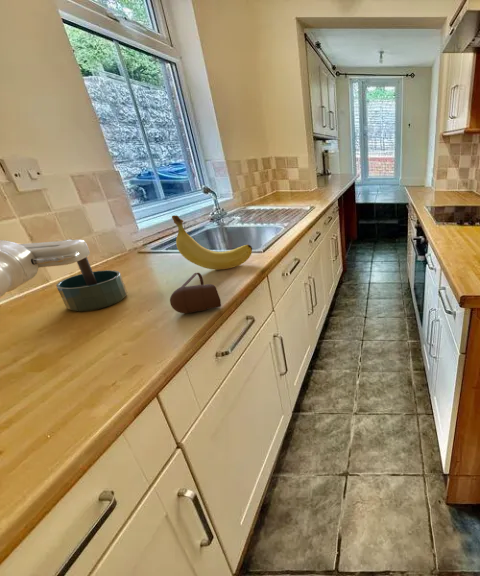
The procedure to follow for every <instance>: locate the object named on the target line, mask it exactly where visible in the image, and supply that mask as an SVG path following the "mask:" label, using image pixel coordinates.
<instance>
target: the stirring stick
mask: <svg viewBox="0 0 480 576" xmlns="http://www.w3.org/2000/svg"><path fill="white" fill-rule="evenodd" d="M76 263H77V265H78V268H79V270H80V272H81V273H80V274H82V275H83V277H84V280H85V282H86V284H87V286H90V285H94V284H97V281H96V279H95V276H94V274H93V272H94V271H93V269H92V267H91V266H92V265H91V263H90V262H89V260H88V256H87V257H86V258H84V259H82V260H80V261H77V262H76Z"/></svg>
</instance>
